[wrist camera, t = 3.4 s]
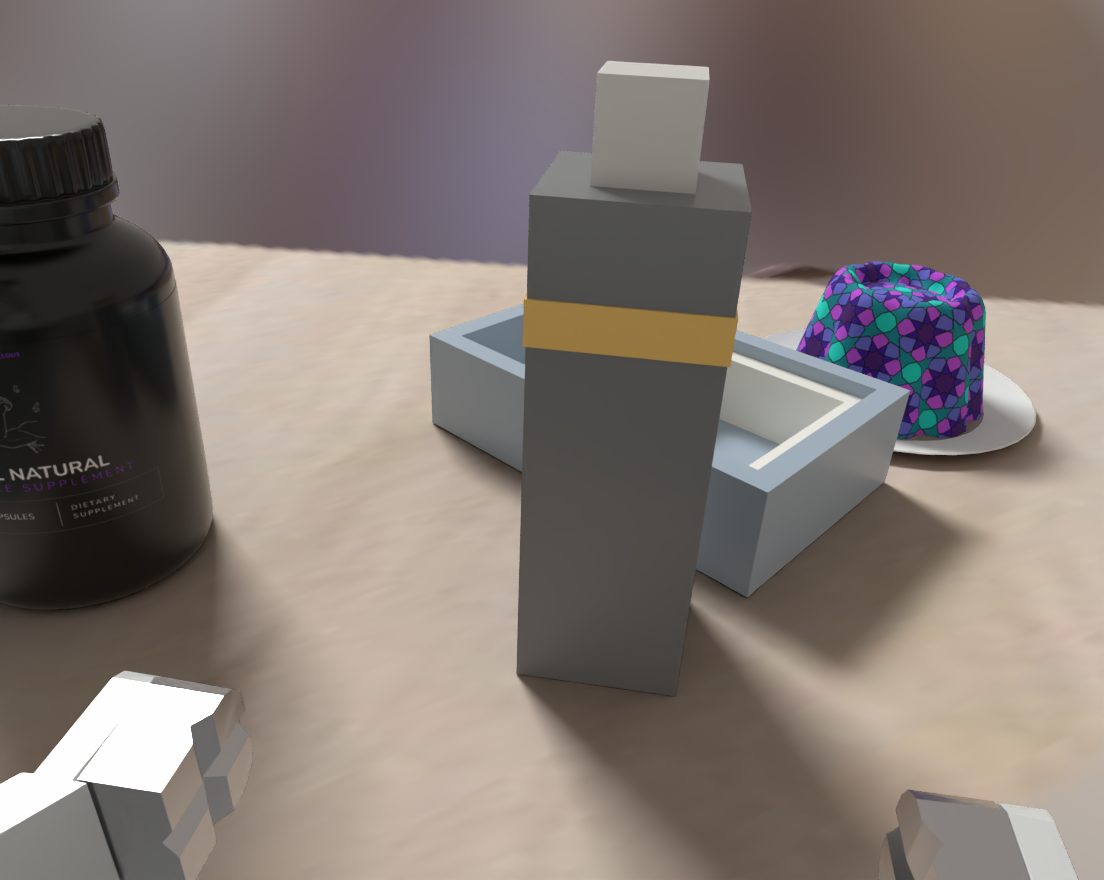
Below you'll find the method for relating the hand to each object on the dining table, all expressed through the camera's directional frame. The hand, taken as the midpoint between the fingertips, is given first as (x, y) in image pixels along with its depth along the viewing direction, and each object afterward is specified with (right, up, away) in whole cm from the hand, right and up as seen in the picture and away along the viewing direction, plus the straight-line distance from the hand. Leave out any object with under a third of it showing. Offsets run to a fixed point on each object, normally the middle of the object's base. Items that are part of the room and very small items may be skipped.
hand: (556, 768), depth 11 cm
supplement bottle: (-14, +1, +15) cm, 20 cm away
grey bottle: (+1, -1, +13) cm, 13 cm away
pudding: (+14, +6, +26) cm, 30 cm away
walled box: (+4, +4, +21) cm, 22 cm away
